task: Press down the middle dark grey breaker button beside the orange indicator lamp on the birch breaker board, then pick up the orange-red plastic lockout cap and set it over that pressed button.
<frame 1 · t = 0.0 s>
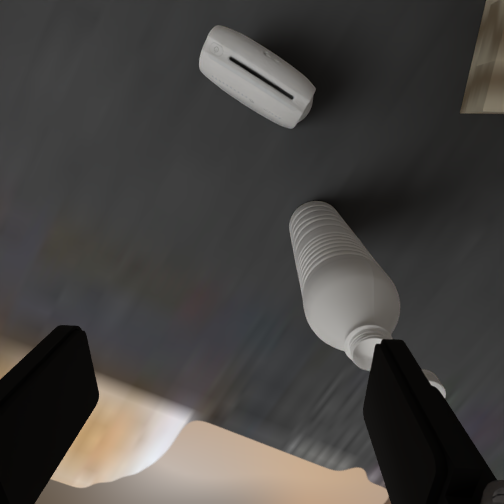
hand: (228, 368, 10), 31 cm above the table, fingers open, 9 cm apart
water bottle: (320, 230, 41), on the table
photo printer: (261, 91, 35), on the table
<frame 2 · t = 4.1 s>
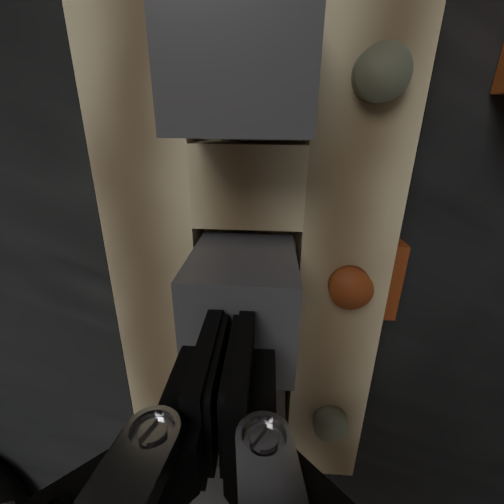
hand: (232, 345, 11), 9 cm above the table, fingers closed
breaker 2: (243, 301, 14), point 6 cm above the table, slide at 0.0 cm, touching gripper
breaker board: (251, 250, 19), on the table
breaker 3: (242, 444, 17), point 6 cm above the table, slide at 0.0 cm
breaker 1: (243, 65, 10), point 6 cm above the table, slide at 0.0 cm
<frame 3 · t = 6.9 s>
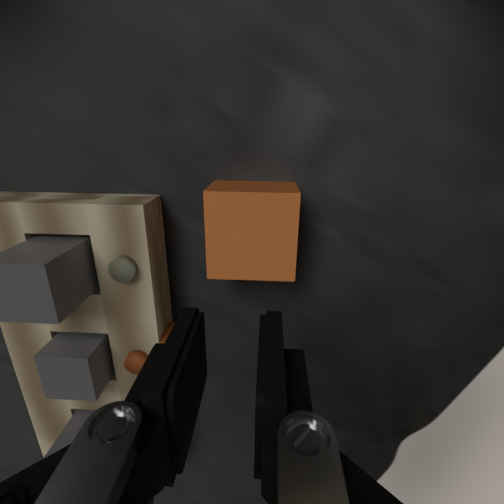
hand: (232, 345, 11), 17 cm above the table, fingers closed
breaker 2: (84, 356, 28), point 4 cm above the table, slide at 2.0 cm
breaker board: (105, 330, 32), on the table
breaker 3: (89, 448, 30), point 6 cm above the table, slide at 0.0 cm
breaker 1: (46, 276, 23), point 6 cm above the table, slide at 0.0 cm
lockout cap: (254, 219, 27), on the table
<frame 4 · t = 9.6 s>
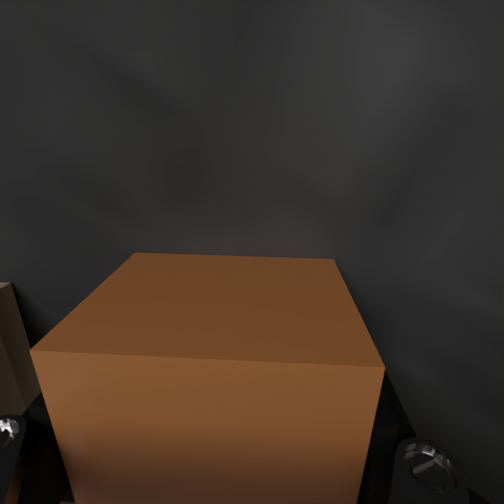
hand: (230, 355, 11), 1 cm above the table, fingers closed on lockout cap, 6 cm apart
lockout cap: (233, 338, 12), on the table, touching gripper
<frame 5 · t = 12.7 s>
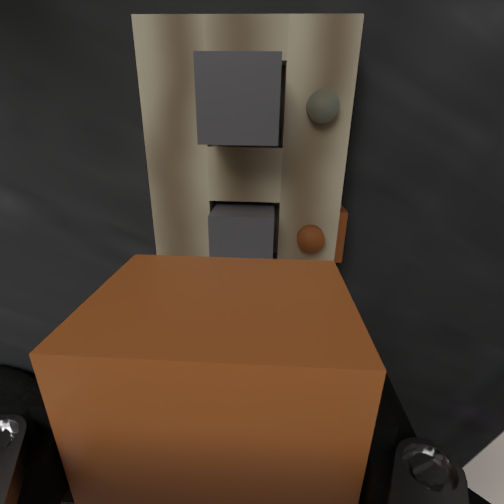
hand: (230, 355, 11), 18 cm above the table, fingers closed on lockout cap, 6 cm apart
breaker 2: (244, 235, 24), point 4 cm above the table, slide at 2.0 cm
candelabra: (1, 401, 39), on the table
breaker board: (248, 220, 28), on the table
breaker 1: (242, 103, 19), point 6 cm above the table, slide at 0.0 cm
lockout cap: (234, 340, 12), point 17 cm above the table, touching gripper
when the fingers open (6 cm above the table, at t = 16.1 s): lockout cap drops 1 cm, resting on breaker board.
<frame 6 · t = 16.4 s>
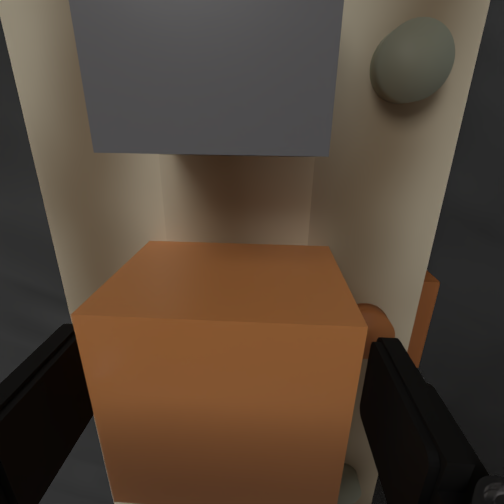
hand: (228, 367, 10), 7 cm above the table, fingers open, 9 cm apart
breaker board: (244, 276, 17), on the table
breaker 1: (226, 50, 8), point 6 cm above the table, slide at 0.0 cm
lockout cap: (238, 319, 13), point 4 cm above the table, touching breaker board
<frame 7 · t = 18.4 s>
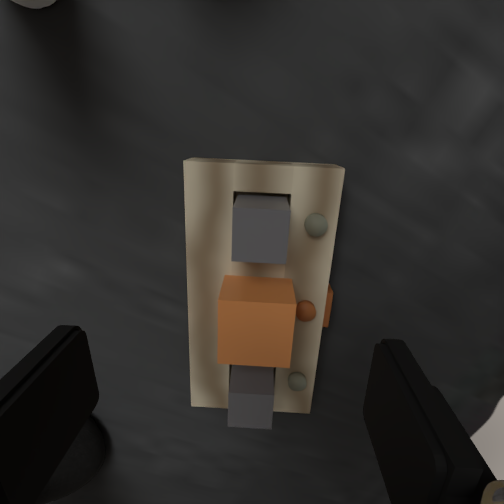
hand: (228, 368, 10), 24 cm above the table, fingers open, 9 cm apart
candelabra: (39, 425, 45), on the table
breaker board: (256, 288, 36), on the table
breaker 3: (251, 390, 33), point 6 cm above the table, slide at 0.0 cm
breaker 1: (260, 226, 27), point 6 cm above the table, slide at 0.0 cm
lockout cap: (256, 306, 32), point 4 cm above the table, touching breaker board
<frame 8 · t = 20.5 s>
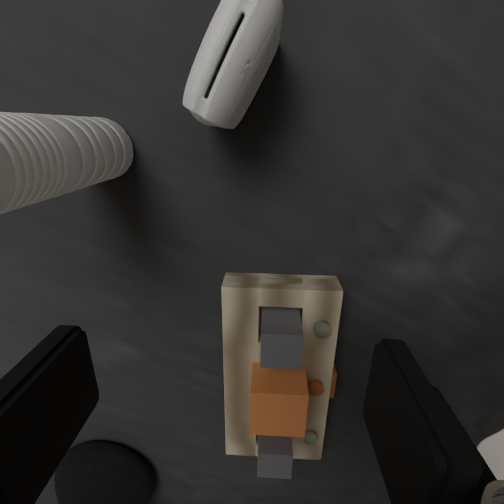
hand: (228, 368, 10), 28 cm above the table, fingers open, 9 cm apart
water bottle: (102, 156, 36), on the table
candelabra: (100, 462, 56), on the table
breaker board: (276, 362, 45), on the table
breaker 3: (274, 446, 43), point 6 cm above the table, slide at 0.0 cm
breaker 1: (280, 336, 36), point 6 cm above the table, slide at 0.0 cm
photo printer: (241, 77, 32), on the table
lockout cap: (277, 383, 41), point 4 cm above the table, touching breaker board
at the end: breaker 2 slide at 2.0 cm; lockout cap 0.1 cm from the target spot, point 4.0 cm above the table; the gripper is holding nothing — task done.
